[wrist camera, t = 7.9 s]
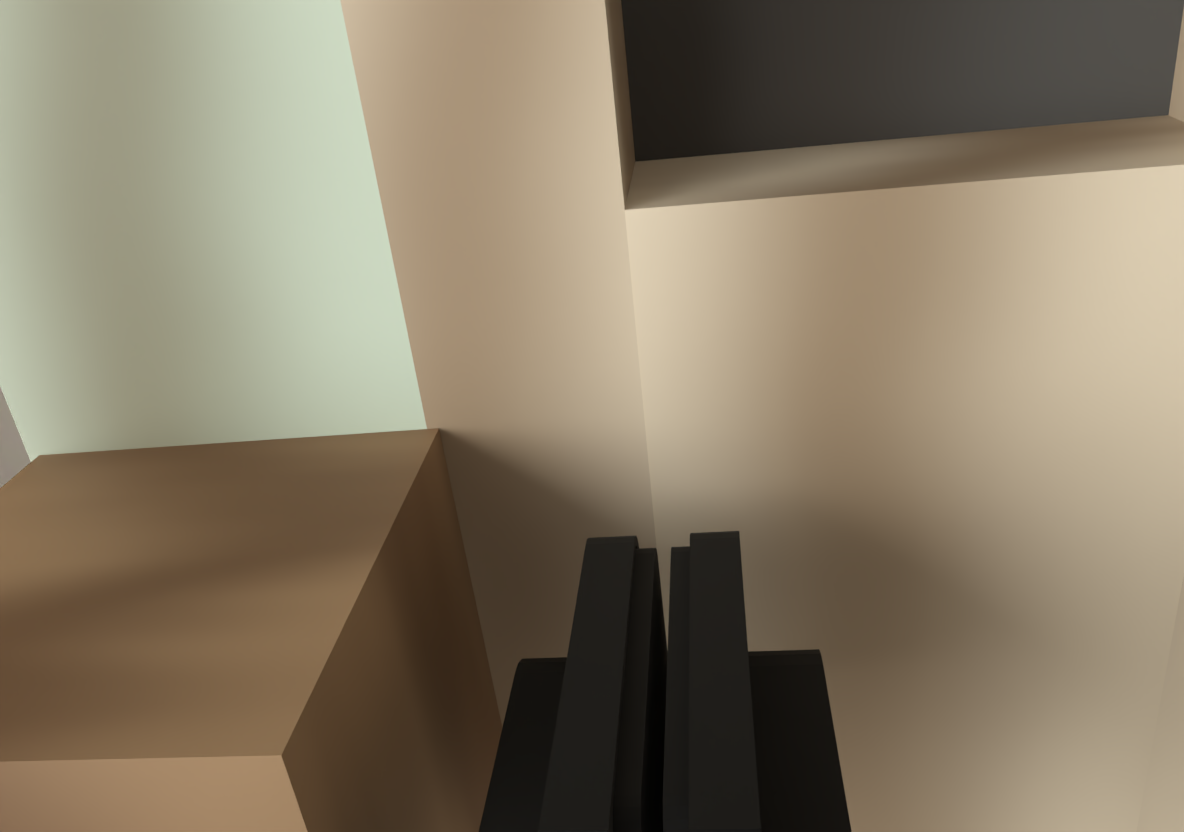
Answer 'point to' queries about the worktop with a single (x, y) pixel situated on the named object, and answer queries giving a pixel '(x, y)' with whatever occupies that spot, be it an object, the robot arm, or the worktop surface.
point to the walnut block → (242, 641)
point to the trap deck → (675, 325)
